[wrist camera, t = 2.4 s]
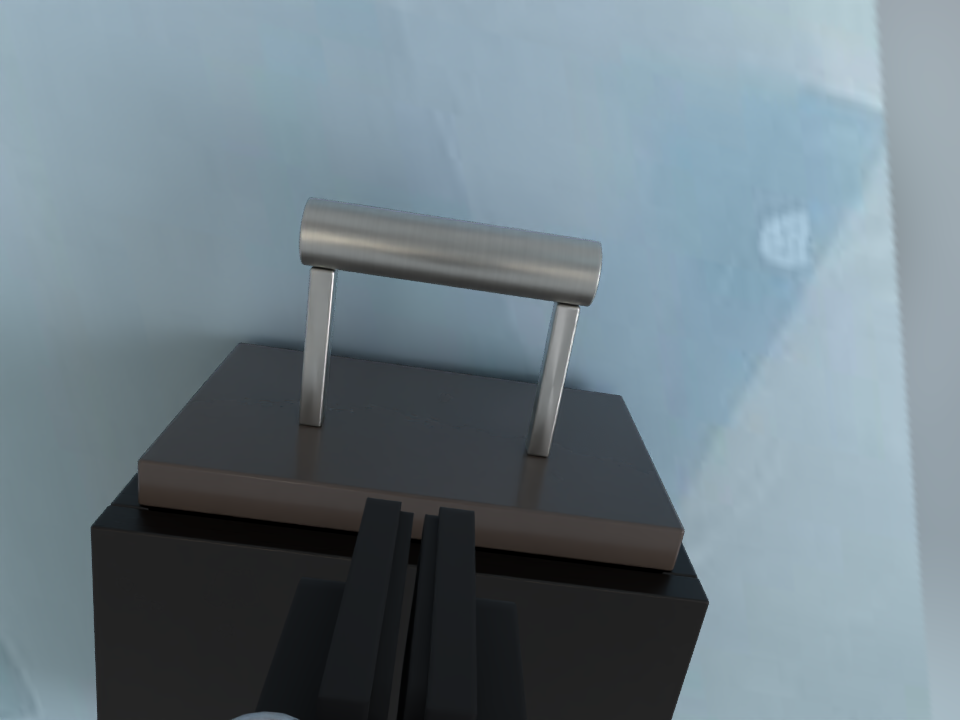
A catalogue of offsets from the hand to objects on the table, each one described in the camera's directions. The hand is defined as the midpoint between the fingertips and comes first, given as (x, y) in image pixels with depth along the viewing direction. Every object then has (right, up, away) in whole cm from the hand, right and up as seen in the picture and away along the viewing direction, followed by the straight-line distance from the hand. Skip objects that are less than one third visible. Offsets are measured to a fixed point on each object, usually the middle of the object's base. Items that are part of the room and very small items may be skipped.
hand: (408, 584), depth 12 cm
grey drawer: (-1, -1, +14) cm, 14 cm away
